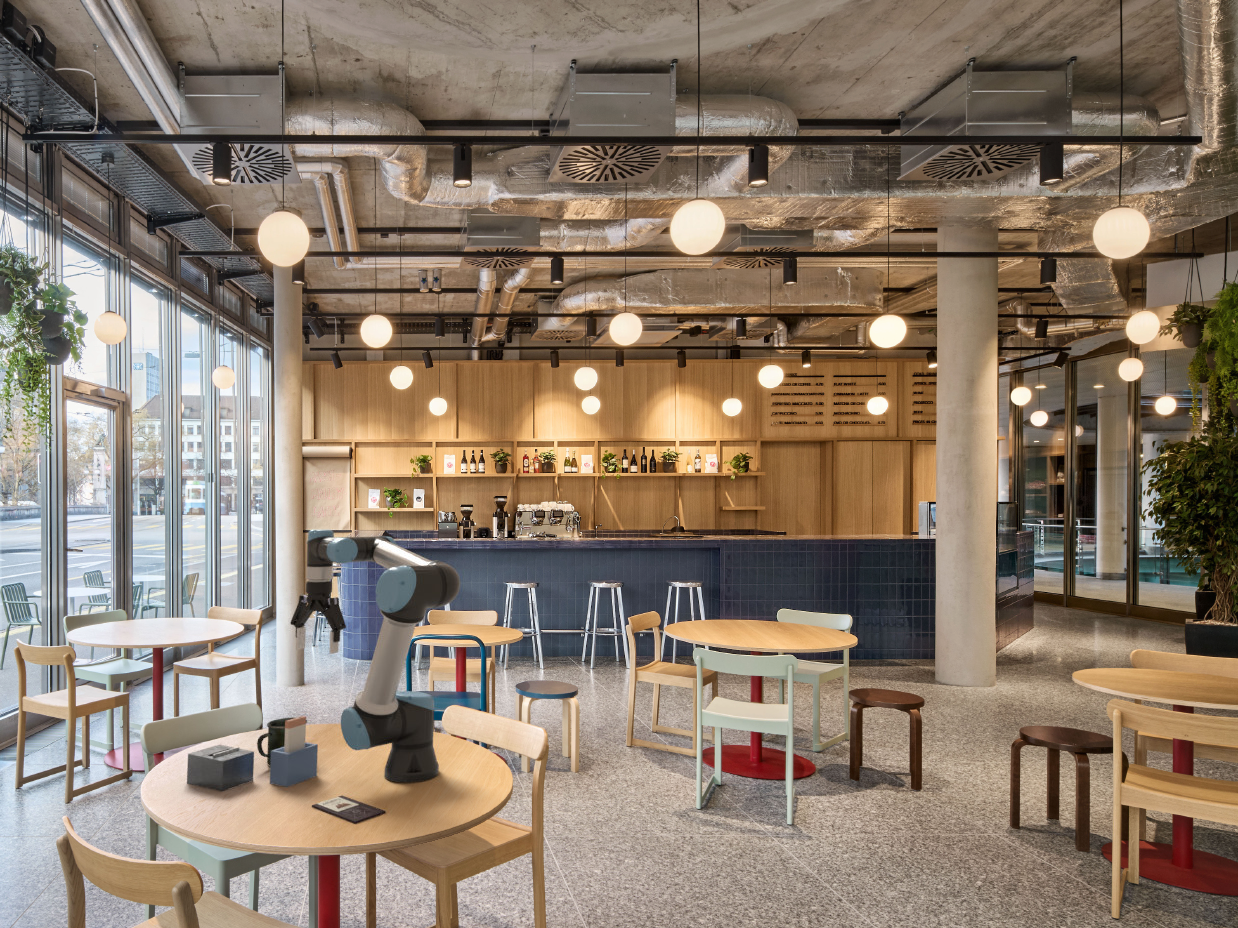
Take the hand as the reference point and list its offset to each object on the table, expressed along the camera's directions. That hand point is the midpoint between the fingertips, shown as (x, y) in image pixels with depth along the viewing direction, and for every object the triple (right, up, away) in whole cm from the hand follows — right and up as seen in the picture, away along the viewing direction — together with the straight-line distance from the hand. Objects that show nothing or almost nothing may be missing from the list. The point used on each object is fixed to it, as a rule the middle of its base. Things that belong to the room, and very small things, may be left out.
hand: (317, 650), depth 250 cm
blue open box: (0, -32, -19) cm, 37 cm away
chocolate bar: (+23, -32, -41) cm, 57 cm away
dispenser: (-19, -31, -21) cm, 42 cm away
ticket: (0, -31, -18) cm, 36 cm away
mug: (-9, -33, -5) cm, 34 cm away
